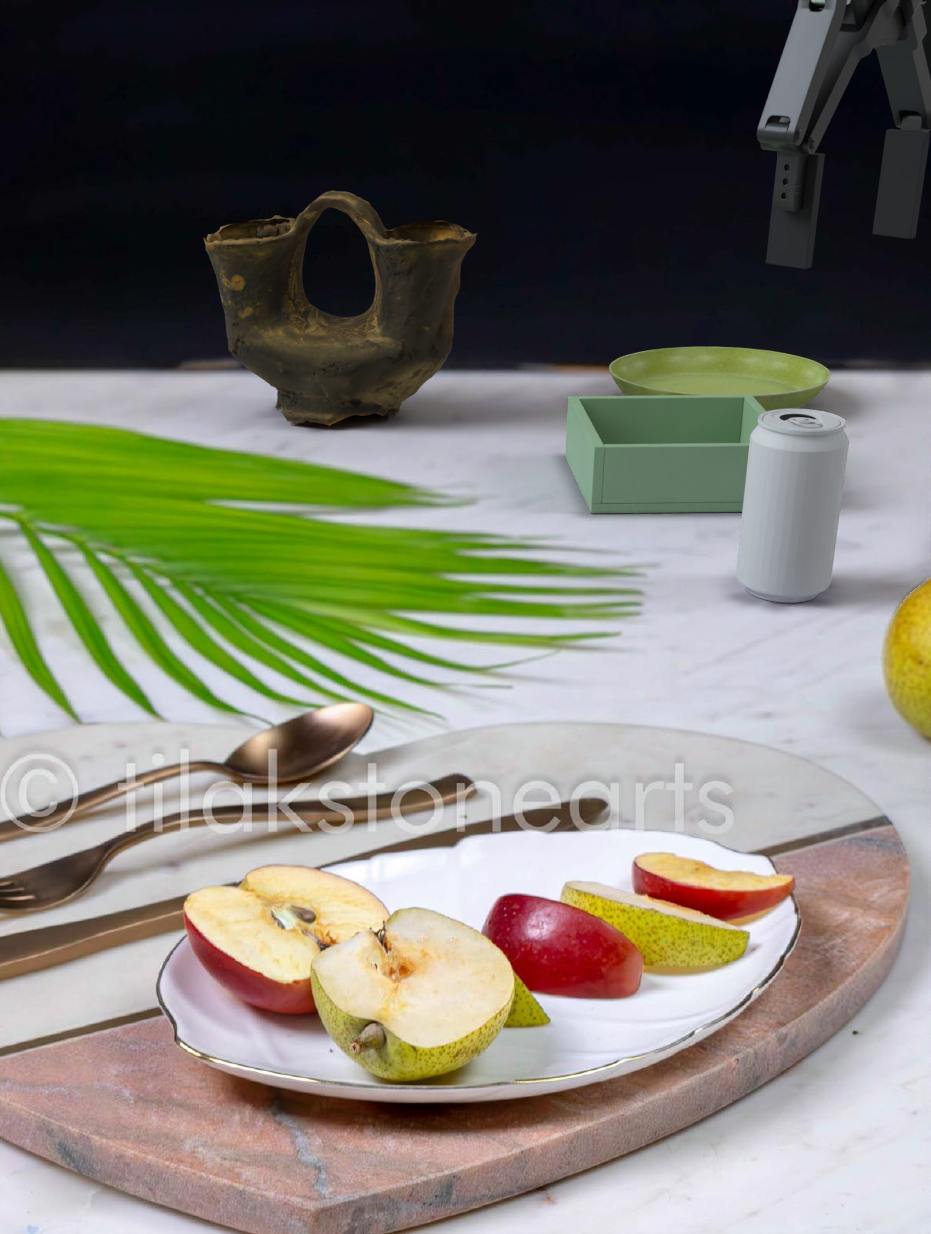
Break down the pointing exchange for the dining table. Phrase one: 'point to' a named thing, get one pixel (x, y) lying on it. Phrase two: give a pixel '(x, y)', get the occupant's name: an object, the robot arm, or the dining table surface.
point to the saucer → (722, 374)
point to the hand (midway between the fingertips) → (843, 250)
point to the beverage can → (792, 504)
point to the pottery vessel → (331, 345)
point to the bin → (661, 451)
